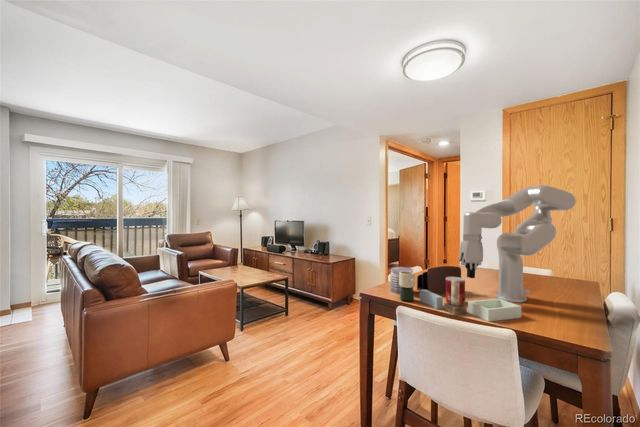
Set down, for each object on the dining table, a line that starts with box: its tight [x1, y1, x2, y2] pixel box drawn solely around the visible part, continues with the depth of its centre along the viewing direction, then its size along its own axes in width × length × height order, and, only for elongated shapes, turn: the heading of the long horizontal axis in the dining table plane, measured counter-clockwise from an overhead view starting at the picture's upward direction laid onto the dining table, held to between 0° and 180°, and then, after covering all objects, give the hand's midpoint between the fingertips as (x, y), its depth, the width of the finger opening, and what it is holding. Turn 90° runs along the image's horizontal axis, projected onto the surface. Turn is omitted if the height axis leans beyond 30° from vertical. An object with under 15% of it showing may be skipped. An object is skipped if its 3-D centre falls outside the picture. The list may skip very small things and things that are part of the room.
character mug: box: [399, 271, 416, 302], centre depth 129 cm, size 11×7×13 cm, turn 12°
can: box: [390, 266, 414, 295], centre depth 143 cm, size 11×11×12 cm
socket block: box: [443, 302, 468, 316], centre depth 114 cm, size 6×6×3 cm
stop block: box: [419, 290, 444, 310], centre depth 123 cm, size 3×12×5 cm, turn 14°
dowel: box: [451, 280, 459, 307], centre depth 114 cm, size 3×3×13 cm
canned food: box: [445, 277, 466, 305], centre depth 126 cm, size 8×8×11 cm
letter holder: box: [416, 265, 462, 295], centre depth 144 cm, size 10×20×14 cm, turn 104°
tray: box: [467, 298, 522, 322], centre depth 111 cm, size 16×10×4 cm, turn 105°
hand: (470, 277), depth 128 cm, fingers closed
